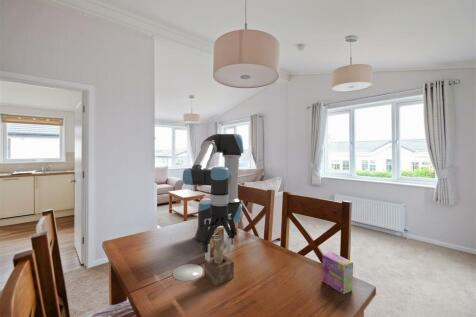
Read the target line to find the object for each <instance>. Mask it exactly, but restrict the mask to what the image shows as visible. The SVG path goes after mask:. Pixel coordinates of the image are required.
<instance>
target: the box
mask: <svg viewBox="0 0 476 317" xmlns="http://www.w3.org/2000/svg"><path fill="white" fill-rule="evenodd" d="M321 274H322V276H321V277H322V278H321V280H322V282H323V283H325V284H326V285H328V286H329V285H330V286H329V287H331V288H332V289H334V290H336V291H337V292H339V293H340V294H342V295H346V294H347V293H350V292H352V291H353V278H354V262H353V261H352V260H349V259H347V258H345V257H343V256H341V255H339V254H336V253H334V252H332V251H329V252H325V253H324V254H322V273H321ZM345 293H346V294H345Z"/></svg>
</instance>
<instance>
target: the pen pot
mask: <svg viewBox="0 0 476 317" xmlns="http://www.w3.org/2000/svg"><path fill="white" fill-rule="evenodd" d="M203 273H204V277H205V278H206V279H207V280H208V281H209V282H211V284H213V285H214V286H215V287H216V286H219V285H221V284H224V283H227V282H228V281H231V280H233V279H234V277H235V262H234V261H233V260H232V259H231V258H229V257H228V256H226V255H224V254H223V263H221V264H218V265H217V264H216V263H215V262H214V257H210V261H208V260H206V259H205V258H204V269H203Z"/></svg>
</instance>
